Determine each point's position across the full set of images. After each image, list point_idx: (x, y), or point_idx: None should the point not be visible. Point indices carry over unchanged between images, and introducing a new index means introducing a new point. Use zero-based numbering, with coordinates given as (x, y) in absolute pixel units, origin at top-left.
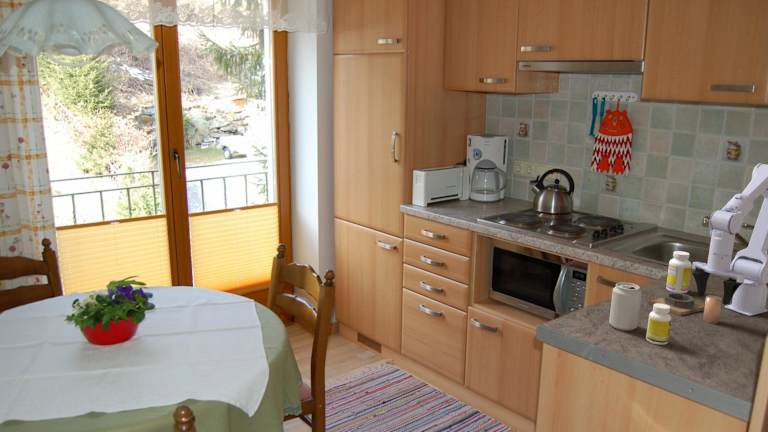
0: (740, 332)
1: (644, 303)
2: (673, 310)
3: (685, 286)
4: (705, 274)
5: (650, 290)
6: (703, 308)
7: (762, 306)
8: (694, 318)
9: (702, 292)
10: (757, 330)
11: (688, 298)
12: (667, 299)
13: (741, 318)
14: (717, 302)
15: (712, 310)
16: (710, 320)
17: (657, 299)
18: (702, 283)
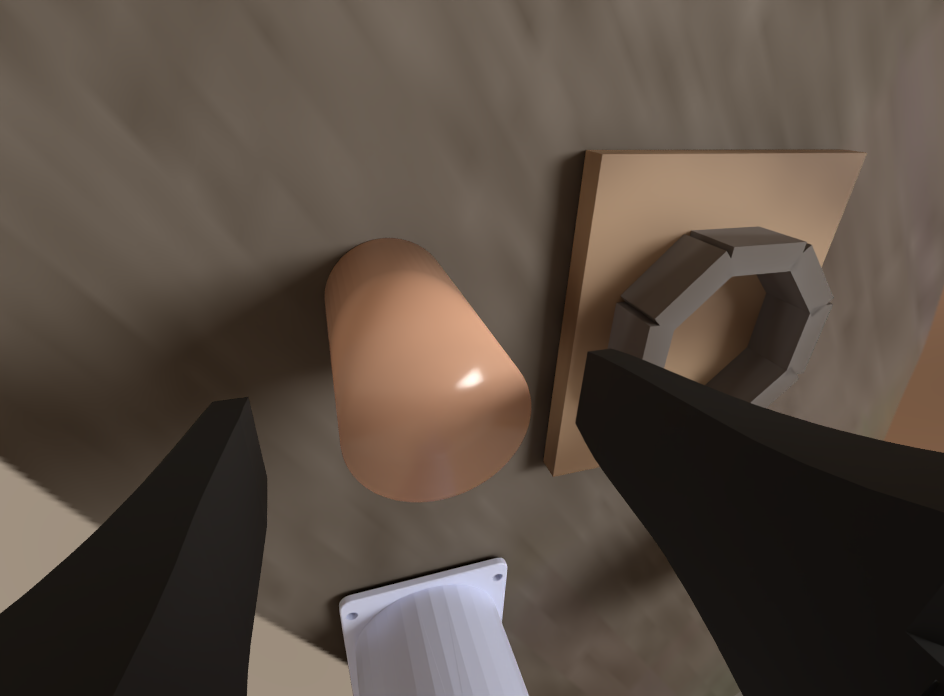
0: (50, 317)
1: (864, 126)
2: (664, 151)
3: None
4: (829, 675)
5: (868, 377)
6: (554, 427)
7: None
8: (487, 217)
9: (605, 410)
10: (76, 487)
11: None
12: (783, 237)
13: (335, 537)
14: (344, 386)
15: (360, 299)
16: (353, 257)
17: (822, 245)
18: (704, 486)
